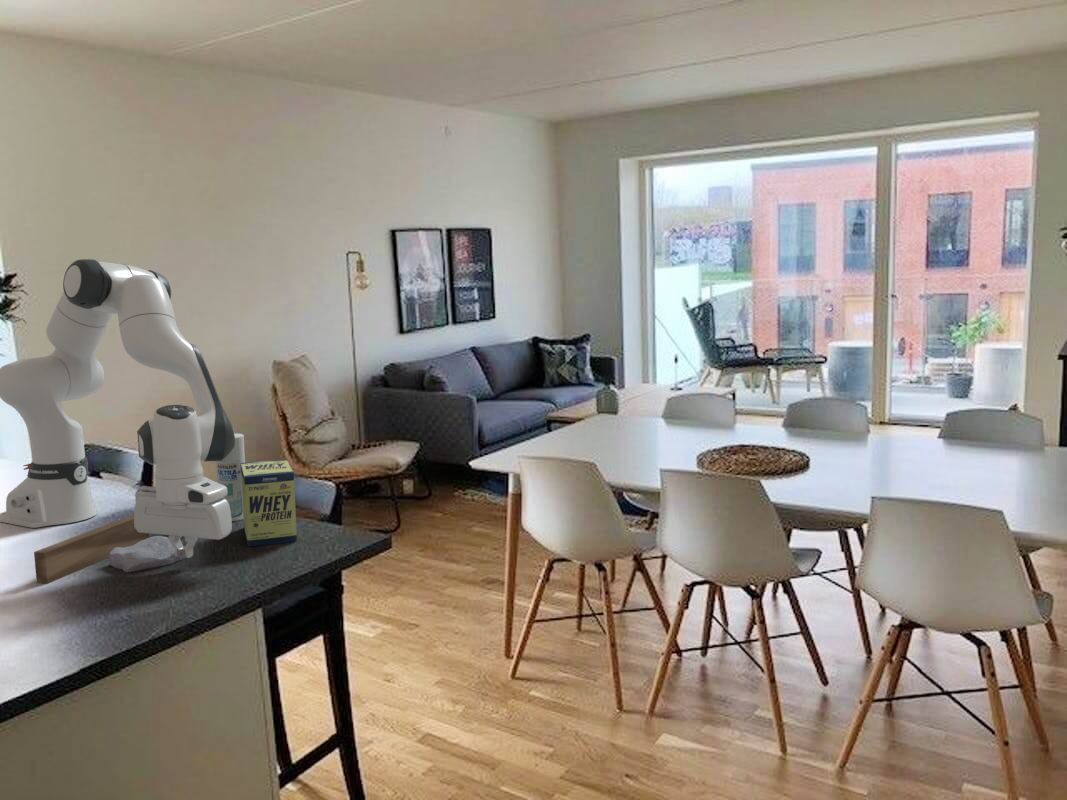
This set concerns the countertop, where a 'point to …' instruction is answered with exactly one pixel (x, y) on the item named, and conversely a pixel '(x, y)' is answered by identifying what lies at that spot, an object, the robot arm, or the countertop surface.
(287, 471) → the protein box
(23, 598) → the countertop surface
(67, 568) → the walnut board
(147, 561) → the stone block
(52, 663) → the countertop surface
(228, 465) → the spray can
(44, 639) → the countertop surface
